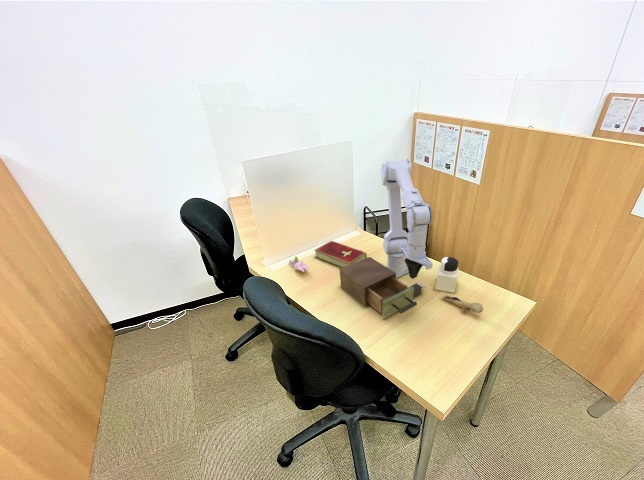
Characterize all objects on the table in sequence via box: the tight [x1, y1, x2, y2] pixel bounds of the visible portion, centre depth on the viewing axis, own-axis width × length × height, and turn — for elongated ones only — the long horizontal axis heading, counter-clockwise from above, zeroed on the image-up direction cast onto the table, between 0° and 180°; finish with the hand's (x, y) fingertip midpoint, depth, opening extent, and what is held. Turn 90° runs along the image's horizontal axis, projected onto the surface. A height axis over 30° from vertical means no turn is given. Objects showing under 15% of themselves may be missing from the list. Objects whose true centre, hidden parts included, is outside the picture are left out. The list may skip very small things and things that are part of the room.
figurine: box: [442, 295, 484, 314], centre depth 100 cm, size 4×5×15 cm
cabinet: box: [339, 256, 397, 308], centre depth 110 cm, size 16×15×9 cm
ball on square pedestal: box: [435, 256, 459, 294], centre depth 109 cm, size 7×7×12 cm
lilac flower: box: [289, 255, 309, 273], centre depth 124 cm, size 6×6×15 cm
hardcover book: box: [314, 240, 368, 269], centre depth 131 cm, size 12×21×4 cm, turn 52°
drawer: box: [366, 276, 418, 320], centre depth 101 cm, size 19×13×7 cm
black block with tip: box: [407, 283, 427, 299], centre depth 108 cm, size 8×3×3 cm, turn 127°
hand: (413, 277), depth 101 cm, fingers closed
